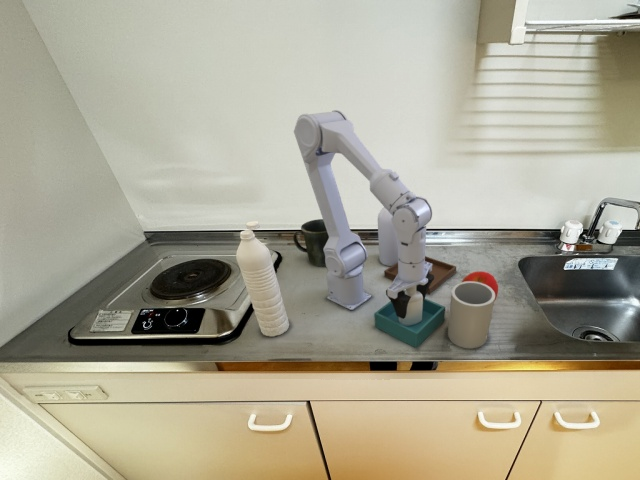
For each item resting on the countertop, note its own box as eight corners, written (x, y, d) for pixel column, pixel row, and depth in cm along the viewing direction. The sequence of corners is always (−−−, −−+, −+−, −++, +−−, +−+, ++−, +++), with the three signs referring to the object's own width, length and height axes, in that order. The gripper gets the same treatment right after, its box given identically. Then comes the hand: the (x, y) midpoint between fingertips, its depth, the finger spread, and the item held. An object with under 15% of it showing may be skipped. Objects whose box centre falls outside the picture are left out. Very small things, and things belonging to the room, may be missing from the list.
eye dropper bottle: (420, 328, 75) (422, 285, 68) (397, 325, 76) (397, 283, 69) (422, 316, 79) (424, 275, 72) (400, 314, 79) (400, 273, 72)
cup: (447, 320, 78) (451, 280, 71) (484, 322, 77) (492, 282, 70) (448, 347, 71) (452, 305, 64) (489, 349, 70) (498, 307, 63)
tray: (384, 276, 96) (384, 270, 94) (413, 257, 106) (413, 252, 104) (429, 294, 88) (429, 288, 87) (455, 272, 98) (456, 266, 96)
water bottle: (286, 336, 74) (258, 237, 60) (258, 338, 74) (222, 239, 59) (293, 313, 81) (269, 220, 67) (267, 314, 81) (237, 221, 66)
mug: (339, 268, 100) (334, 232, 93) (293, 267, 100) (285, 232, 93) (344, 252, 109) (340, 218, 102) (302, 252, 109) (295, 218, 102)
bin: (375, 327, 77) (374, 313, 74) (404, 303, 85) (404, 290, 82) (416, 348, 71) (417, 333, 68) (444, 320, 79) (445, 306, 76)
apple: (488, 289, 85) (491, 257, 76) (502, 315, 79) (506, 285, 70) (455, 298, 85) (453, 268, 76) (466, 325, 80) (466, 296, 70)
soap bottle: (379, 253, 108) (376, 181, 94) (406, 254, 107) (407, 182, 93) (374, 265, 101) (370, 190, 87) (403, 267, 100) (403, 191, 86)
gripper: (406, 277, 60) (406, 331, 68) (445, 250, 70) (440, 300, 78) (378, 267, 64) (381, 319, 72) (418, 241, 73) (417, 290, 81)
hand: (410, 308), depth 75 cm, fingers open, 7 cm apart
